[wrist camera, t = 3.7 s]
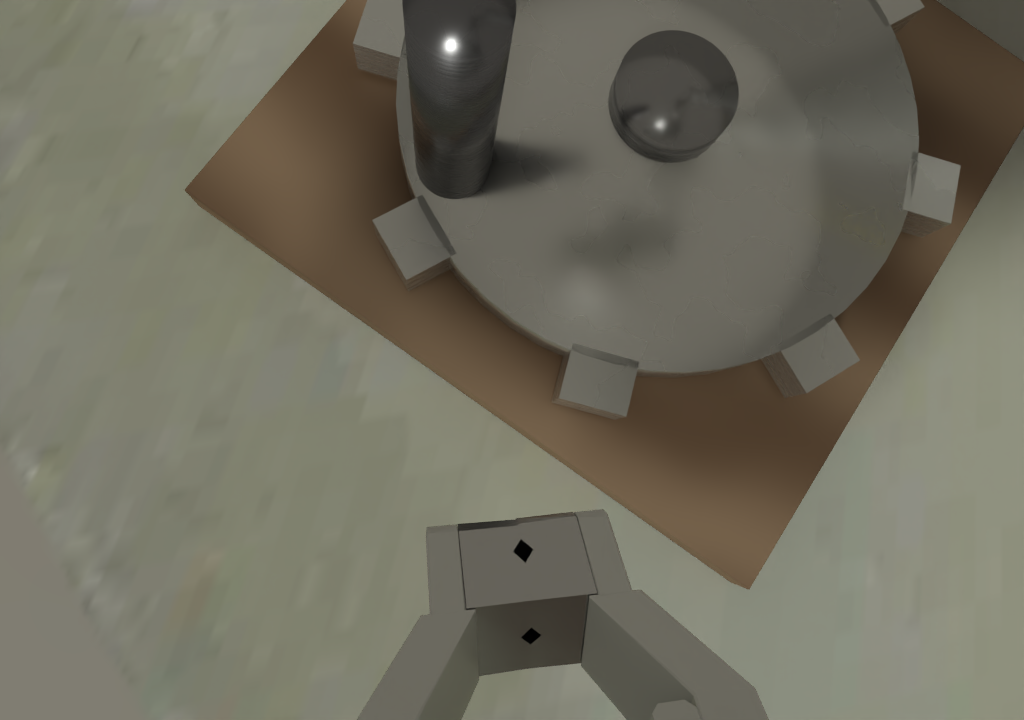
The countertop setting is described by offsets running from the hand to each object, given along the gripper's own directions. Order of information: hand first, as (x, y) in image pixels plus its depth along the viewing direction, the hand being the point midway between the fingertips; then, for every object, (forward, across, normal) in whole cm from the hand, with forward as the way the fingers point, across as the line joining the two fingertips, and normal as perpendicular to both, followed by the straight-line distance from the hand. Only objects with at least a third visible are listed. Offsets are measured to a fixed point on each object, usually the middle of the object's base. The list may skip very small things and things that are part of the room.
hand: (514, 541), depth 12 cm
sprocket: (+17, -7, -1) cm, 18 cm away
